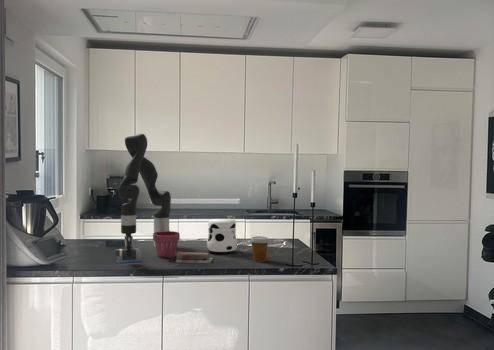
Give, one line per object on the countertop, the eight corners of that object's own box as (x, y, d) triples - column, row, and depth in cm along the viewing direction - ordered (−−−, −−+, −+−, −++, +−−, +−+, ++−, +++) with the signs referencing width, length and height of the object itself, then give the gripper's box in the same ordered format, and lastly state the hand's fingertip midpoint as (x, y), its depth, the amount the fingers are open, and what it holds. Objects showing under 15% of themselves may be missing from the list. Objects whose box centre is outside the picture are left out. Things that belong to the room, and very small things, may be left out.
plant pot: (171, 260, 245) (171, 235, 245) (147, 258, 250) (147, 234, 249) (184, 255, 258) (184, 232, 258) (161, 253, 263) (161, 230, 263)
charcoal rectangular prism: (135, 258, 244) (135, 248, 244) (135, 259, 241) (136, 249, 241) (115, 259, 241) (115, 249, 241) (115, 260, 238) (115, 250, 238)
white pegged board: (138, 254, 260) (138, 247, 260) (141, 262, 239) (141, 255, 239) (115, 255, 256) (115, 248, 256) (116, 264, 235) (116, 257, 235)
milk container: (243, 252, 269) (243, 220, 268) (221, 256, 256) (221, 223, 255) (222, 248, 280) (222, 217, 280) (200, 252, 268) (200, 220, 267)
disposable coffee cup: (257, 263, 241) (258, 239, 240) (246, 259, 248) (247, 237, 248) (272, 261, 246) (272, 238, 246) (261, 257, 254) (261, 235, 253)
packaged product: (175, 254, 240) (178, 250, 250) (175, 263, 240) (178, 259, 250) (210, 254, 239) (212, 250, 249) (210, 264, 239) (212, 260, 249)
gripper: (137, 225, 235) (136, 257, 236) (135, 221, 249) (135, 252, 250) (121, 225, 233) (121, 258, 234) (120, 222, 247) (120, 252, 247)
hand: (128, 255), depth 242 cm, fingers open, 8 cm apart
